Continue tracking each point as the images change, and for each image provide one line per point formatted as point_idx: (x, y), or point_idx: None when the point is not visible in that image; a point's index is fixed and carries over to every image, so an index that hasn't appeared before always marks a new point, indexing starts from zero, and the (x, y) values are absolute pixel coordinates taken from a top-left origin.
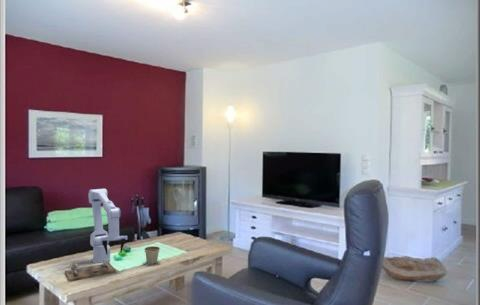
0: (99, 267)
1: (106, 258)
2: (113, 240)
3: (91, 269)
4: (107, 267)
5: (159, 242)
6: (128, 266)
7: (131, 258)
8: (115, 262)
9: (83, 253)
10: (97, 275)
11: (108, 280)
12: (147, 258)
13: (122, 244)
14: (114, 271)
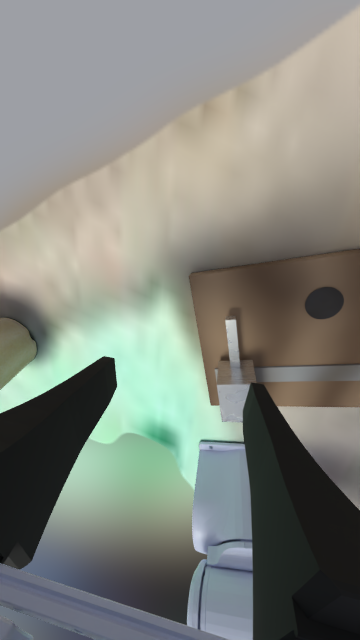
0: (279, 366)
1: (231, 419)
2: (126, 613)
3: (335, 358)
4: None
5: None
6: (120, 337)
7: (108, 421)
8: (178, 412)
9: None
10: (322, 255)
11: (268, 120)
12: (6, 344)
13: (4, 424)
14: (200, 273)
